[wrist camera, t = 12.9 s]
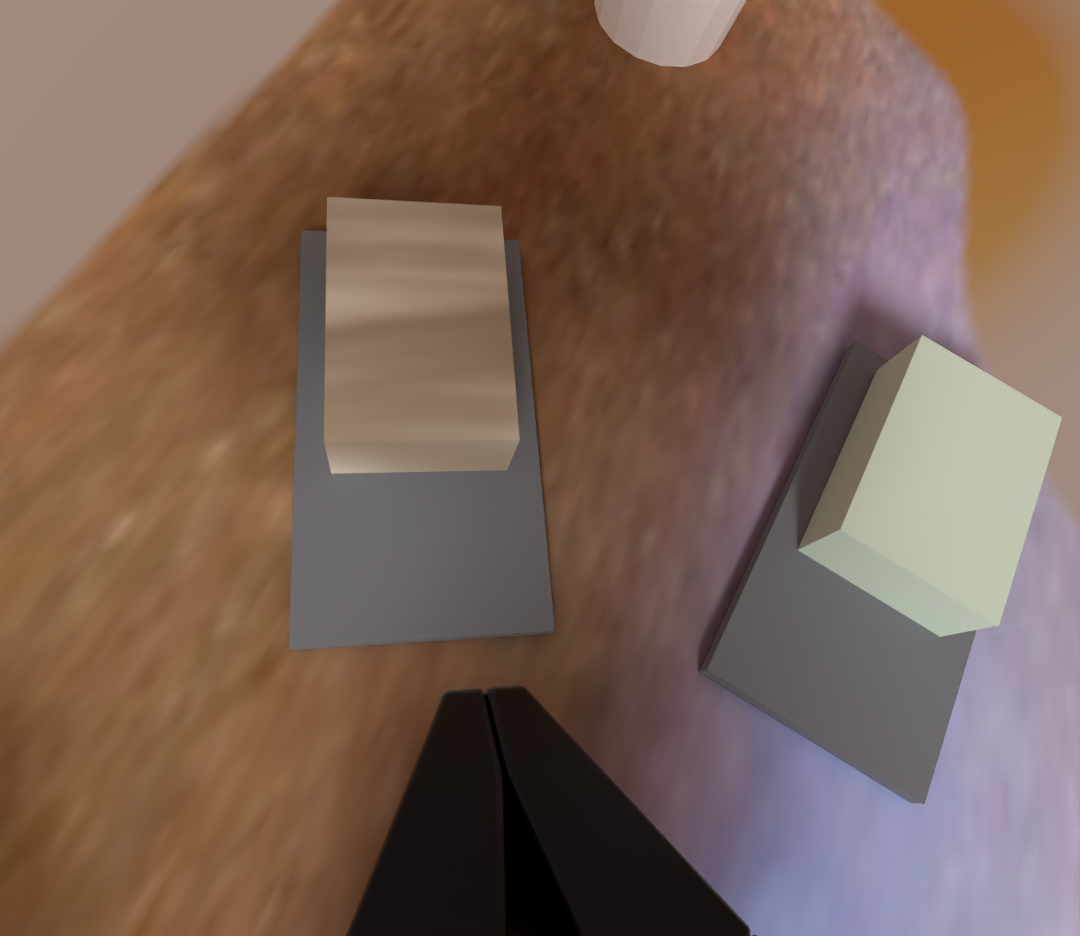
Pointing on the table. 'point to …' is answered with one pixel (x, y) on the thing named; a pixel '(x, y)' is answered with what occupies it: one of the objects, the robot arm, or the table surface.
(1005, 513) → the sage tile
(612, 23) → the white cup
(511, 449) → the cream tile
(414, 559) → the pair of gray tiles
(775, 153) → the table surface
